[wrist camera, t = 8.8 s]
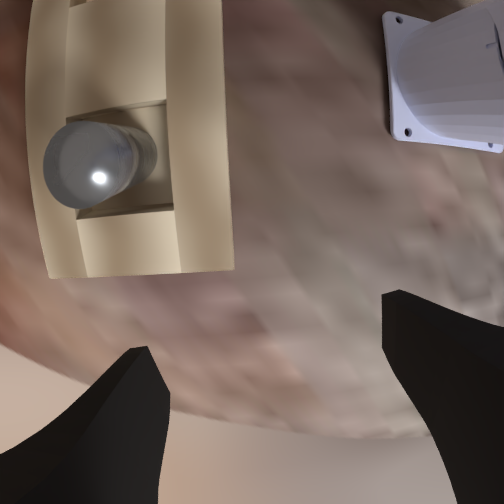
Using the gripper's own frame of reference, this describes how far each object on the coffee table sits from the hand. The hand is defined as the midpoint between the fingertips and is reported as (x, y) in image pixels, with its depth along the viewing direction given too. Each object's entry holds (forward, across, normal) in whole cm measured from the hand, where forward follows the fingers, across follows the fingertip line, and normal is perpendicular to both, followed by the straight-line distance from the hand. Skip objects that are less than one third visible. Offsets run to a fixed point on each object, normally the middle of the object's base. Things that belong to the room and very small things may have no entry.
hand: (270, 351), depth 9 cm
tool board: (+9, +4, -12) cm, 16 cm away
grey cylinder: (+8, +5, -6) cm, 12 cm away
